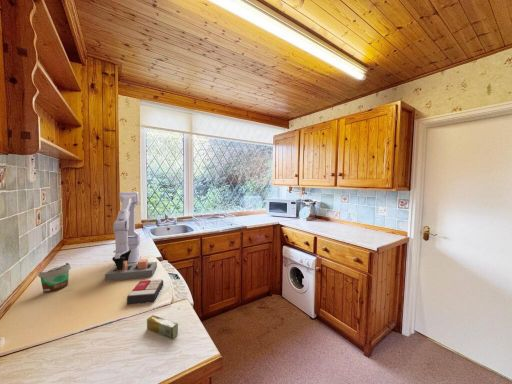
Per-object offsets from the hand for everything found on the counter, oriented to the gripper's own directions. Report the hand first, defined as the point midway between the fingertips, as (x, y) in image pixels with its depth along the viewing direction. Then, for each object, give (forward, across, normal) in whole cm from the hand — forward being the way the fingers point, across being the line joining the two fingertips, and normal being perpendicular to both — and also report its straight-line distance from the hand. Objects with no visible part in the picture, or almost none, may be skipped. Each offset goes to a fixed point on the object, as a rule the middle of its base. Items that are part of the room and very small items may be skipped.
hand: (122, 266), depth 116 cm
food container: (+5, +9, -24) cm, 26 cm away
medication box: (+5, +51, +29) cm, 59 cm away
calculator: (+5, +24, +18) cm, 30 cm away
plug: (+3, 0, 0) cm, 3 cm away
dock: (+4, 0, +5) cm, 7 cm away
